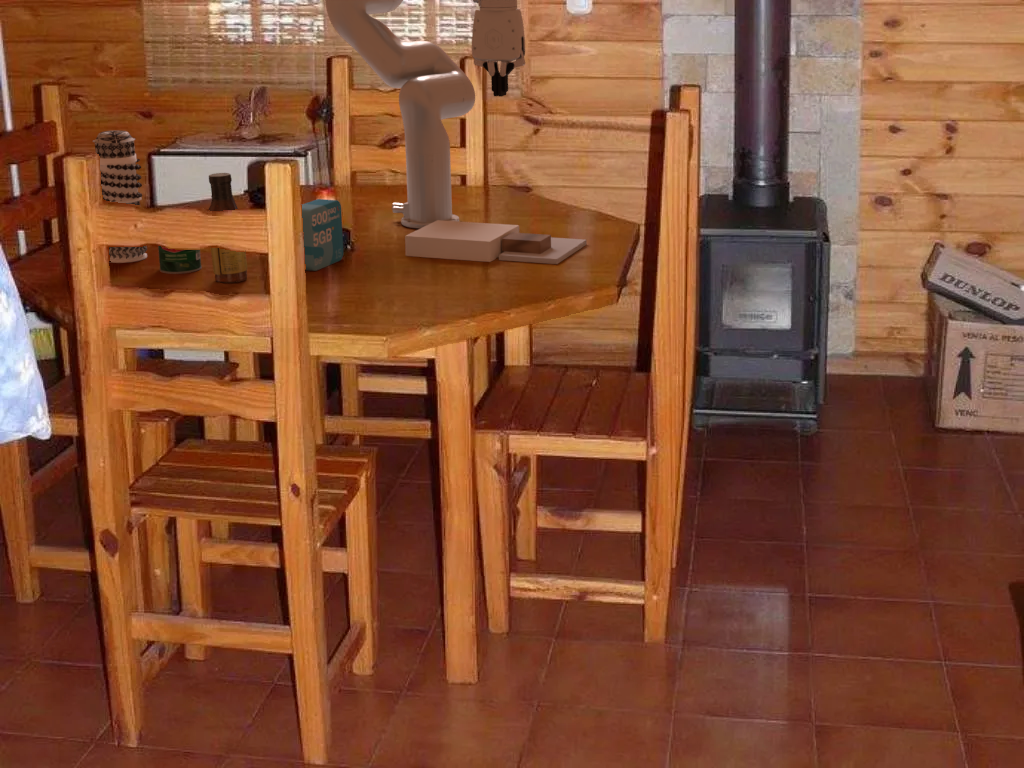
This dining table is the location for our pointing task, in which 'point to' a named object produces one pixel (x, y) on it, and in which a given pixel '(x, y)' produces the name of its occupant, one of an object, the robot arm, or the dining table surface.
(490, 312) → the dining table surface
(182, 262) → the canned tomato
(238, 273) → the sauce bottle
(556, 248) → the mat
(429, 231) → the deck
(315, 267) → the data package
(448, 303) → the dining table surface
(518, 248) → the tile
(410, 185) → the robot arm
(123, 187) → the decorative candle
